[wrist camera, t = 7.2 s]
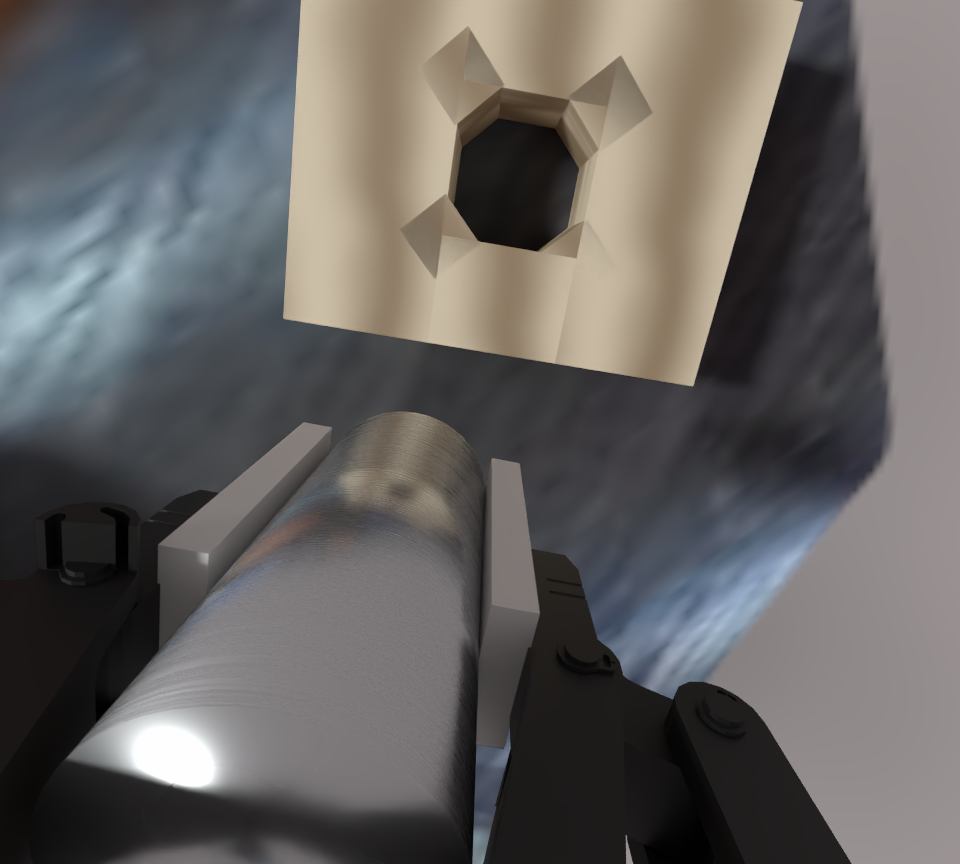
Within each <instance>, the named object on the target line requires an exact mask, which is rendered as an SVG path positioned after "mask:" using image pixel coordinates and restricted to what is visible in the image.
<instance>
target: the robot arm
mask: <svg viewBox="0 0 960 864" xmlns="http://www.w3.org/2000/svg"><path fill="white" fill-rule="evenodd" d="M331 432H332V428H331V427H326V426H321V425H315V424H310V423H305V422H304V423H302V424H301V425H300V426H299V427H298V428H296V429H295V430H294V431H293V432H292V433H290V434H289V435H288V436H287V437H286V438H284V439H283V440H282V441H281V442H280V443H279V444H277V445H276V446H275V447H274V448H273V449H271V450H270V451H269V452H268V453H267V454H265V455H264V456H263V457H262V458H261V459H260V460H258V461H257V462H256V463H255V464H254V465H252V466H251V467H250V468H249V469H248V470H246V471H245V472H244V473H243V474H242V475H240V476H239V477H238V478H237V479H236V480H235V481H233V482H232V483H231V484H230V485H229V486H227V487H226V488H225V489H224V490H223V491H221V492H220V493H216V492H210V491H205V490H198V491H195V492H192V493H190V494H187V495H184V496H181V497H178V498H176V499H175V500H174V501H172V502H171V503H170V504H168V505H167V506H166V507H164V508H163V509H162V510H161V512H158V513H156V514H155V515H154V516H152V517H151V518H149V519H148V522H144V523H143V524H141V525H140V517H139V515H138V514H137V512H136V511H134V510H132V509H130V508H128V507H126V506H123V505H117V504H112V503H82V504H76V505H69V506H65V507H61V508H58V509H55V510H52V511H48V512H47V513H45V514H43V515H41V516H40V517H38V518H36V519H35V536H36V553H37V570H36V571H35V572H34V573H33V574H32V575H31V576H30V577H29V578H28V579H26V580H0V864H32V858H31V853H30V827H31V822H32V817H33V812H34V808H35V805H36V803H37V801H38V798H39V796H40V793H41V791H42V789H43V787H44V786H45V784H46V783H47V781H48V780H49V778H50V777H51V775H52V774H53V772H54V771H55V770H56V768H57V767H58V766H59V765H60V764H61V763H62V761H63V760H64V759H65V758H66V757H67V756H68V754H69V753H70V752H71V751H72V750H73V749H74V748H75V746H76V745H77V744H78V743H79V742H80V741H81V739H82V738H83V737H84V736H85V735H86V734H87V733H88V731H89V730H90V729H91V728H92V727H93V726H94V724H95V723H96V722H97V721H98V720H99V719H100V717H101V716H102V715H103V714H104V713H105V712H106V711H107V709H108V708H109V707H110V706H111V705H112V704H113V702H114V701H115V700H116V699H117V698H118V697H119V696H120V694H121V693H122V692H123V691H124V690H125V689H126V687H127V686H128V685H129V684H130V683H131V682H132V680H133V679H134V678H135V677H136V676H137V675H138V674H139V672H140V671H141V670H142V669H143V668H144V667H145V665H146V664H147V663H148V662H149V661H150V660H151V658H152V657H153V656H154V655H155V654H156V653H157V652H158V650H159V649H160V648H161V647H162V646H163V645H164V643H165V642H166V641H167V640H168V639H169V638H170V637H171V635H172V634H173V633H174V632H175V631H176V630H177V628H178V627H179V626H180V625H181V624H182V623H183V621H184V620H185V619H186V618H187V617H188V616H189V615H190V613H191V612H192V611H193V610H194V609H195V608H196V606H197V605H198V604H199V603H200V602H201V601H202V599H203V598H204V597H205V596H206V595H207V594H208V593H209V591H210V590H211V589H212V588H213V587H214V586H215V584H216V583H217V582H218V581H219V580H220V579H221V578H222V576H223V575H224V574H225V573H226V572H227V571H228V569H229V568H230V567H231V566H232V565H233V564H234V562H235V561H236V560H237V559H238V558H239V557H240V556H241V554H242V553H243V552H244V551H245V550H246V549H247V547H248V546H249V545H250V544H251V543H252V542H253V541H254V539H255V538H256V537H257V536H258V535H259V534H260V532H261V531H262V530H263V529H264V528H265V527H266V525H267V524H268V523H269V522H270V521H271V520H272V519H273V517H274V516H275V515H276V514H277V513H278V512H279V510H280V509H281V508H282V507H283V506H284V505H285V503H286V502H287V501H288V500H289V499H290V498H291V497H292V495H293V494H294V493H295V492H296V491H297V490H298V488H299V487H300V486H301V485H302V484H303V483H304V482H305V480H306V479H307V478H308V477H309V476H310V475H311V473H312V472H313V471H314V470H315V469H316V468H317V466H318V465H319V464H320V463H321V462H322V461H323V460H324V458H325V457H326V456H327V455H328V454H329V450H330V441H331ZM509 728H510V742H511V750H510V753H509V757H508V761H507V764H506V768H505V772H504V775H503V779H502V783H501V786H500V790H499V794H498V797H497V801H496V805H495V806H496V811H495V815H494V820H493V824H492V828H491V833H490V837H489V841H488V846H487V850H486V855H485V859H484V863H483V864H626V837H625V836H626V835H627V840H628V845H629V849H630V853H631V857H632V861H633V864H851V862H850V860H849V859H848V857H847V856H846V854H845V852H844V851H843V849H842V847H841V846H840V844H839V843H838V841H837V839H836V838H835V836H834V835H833V833H832V831H831V830H830V828H829V826H828V825H827V823H826V821H825V820H824V818H823V817H822V815H821V813H820V812H819V810H818V808H817V807H816V805H815V804H814V802H813V801H812V799H811V797H810V795H809V794H808V792H807V791H806V789H805V787H804V786H803V784H802V783H801V781H800V779H799V778H798V776H797V774H796V773H795V771H794V769H793V768H792V767H791V765H790V763H789V761H788V760H787V758H786V756H785V755H784V753H783V752H782V750H781V748H780V747H779V745H778V743H777V742H776V740H775V739H774V737H773V735H772V734H771V732H770V730H769V729H768V727H767V726H766V724H765V723H764V722H763V720H762V719H761V718H760V716H759V715H758V714H757V713H756V712H755V710H754V709H753V708H752V707H750V706H749V705H748V704H747V703H745V702H744V701H743V700H742V699H740V698H739V697H738V696H736V695H734V694H733V693H731V692H729V691H727V690H725V689H723V688H721V687H718V686H715V685H712V684H708V683H705V682H688V683H686V684H683V685H681V686H679V687H678V690H677V692H676V694H675V696H674V699H673V700H672V699H670V698H668V697H665V696H663V695H660V694H658V693H656V692H653V691H651V690H648V689H646V688H643V687H641V686H639V685H637V684H635V683H633V682H631V681H630V680H628V679H627V678H625V677H624V676H623V672H622V669H621V665H620V662H619V660H618V659H617V657H616V656H615V655H614V654H613V652H612V651H611V650H610V649H609V648H608V647H606V646H605V645H604V644H602V643H601V642H600V641H598V640H597V636H596V633H595V629H594V626H593V622H592V619H591V615H590V611H589V608H588V604H587V601H586V600H585V593H584V590H583V588H582V583H581V579H580V576H579V572H578V569H577V568H576V567H575V566H574V565H573V564H572V563H571V561H570V560H569V559H568V558H567V557H566V556H565V555H561V554H555V553H550V552H544V551H539V550H533V549H531V544H530V537H529V530H528V522H527V515H526V508H525V500H524V493H523V486H522V478H521V471H520V464H519V463H515V462H510V461H504V460H499V459H494V458H492V460H491V465H490V469H489V474H488V479H487V483H486V488H485V493H484V522H483V551H482V580H481V610H480V639H479V677H478V707H477V737H476V744H477V745H483V746H489V747H494V748H500V749H504V746H505V743H506V739H507V735H508V731H509Z"/></svg>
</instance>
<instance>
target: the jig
mask: <svg viewBox="0 0 960 864" xmlns="http://www.w3.org/2000/svg"><path fill="white" fill-rule="evenodd" d="M802 4H803V2H799V1H794V0H301V13H300V31H299V48H298V66H297V84H296V102H295V119H294V137H293V155H292V173H291V190H290V208H289V226H288V244H287V262H286V279H285V297H284V315H283V319H288V320H294V321H300V322H306V323H313V324H319V325H325V326H331V327H337V328H343V329H349V330H355V331H361V332H367V333H373V334H379V335H385V336H391V337H397V338H403V339H409V340H415V341H422V342H428V343H434V344H440V345H446V346H452V347H458V348H464V349H470V350H476V351H482V352H488V353H494V354H500V355H506V356H512V357H518V358H525V359H531V360H537V361H543V362H549V363H555V364H561V365H567V366H573V367H579V368H585V369H591V370H597V371H603V372H609V373H615V374H621V375H627V376H634V377H640V378H646V379H652V380H658V381H664V382H670V383H676V384H682V385H688V386H693V385H694V382H695V378H696V375H697V371H698V368H699V364H700V361H701V357H702V354H703V350H704V347H705V343H706V340H707V336H708V333H709V329H710V326H711V322H712V319H713V315H714V312H715V308H716V305H717V301H718V298H719V294H720V291H721V287H722V284H723V280H724V277H725V273H726V270H727V266H728V263H729V259H730V256H731V252H732V249H733V245H734V242H735V238H736V235H737V231H738V228H739V224H740V221H741V217H742V214H743V210H744V207H745V203H746V200H747V197H748V193H749V190H750V186H751V183H752V179H753V176H754V172H755V169H756V165H757V162H758V158H759V155H760V151H761V148H762V144H763V141H764V137H765V134H766V130H767V127H768V123H769V120H770V116H771V113H772V109H773V106H774V102H775V99H776V95H777V92H778V88H779V85H780V81H781V78H782V74H783V71H784V67H785V64H786V60H787V57H788V53H789V50H790V46H791V43H792V39H793V36H794V32H795V29H796V25H797V22H798V18H799V15H800V11H801V8H802ZM498 118H500V119H505V120H511V121H516V122H522V123H527V124H533V125H538V126H543V127H549V128H554V129H555V130H556V131H557V133H558V135H559V136H560V138H561V140H562V141H563V143H564V145H565V146H566V148H567V149H568V151H569V153H570V154H571V156H572V158H573V159H574V161H575V163H576V164H577V166H578V168H579V173H578V178H577V183H576V188H575V193H574V198H573V203H572V209H571V214H570V219H569V224H568V228H567V229H566V230H564V231H563V232H562V233H560V234H559V235H558V236H556V237H555V238H554V239H552V240H551V241H549V242H548V243H547V244H545V245H544V246H543V247H541V248H540V249H539V250H537V251H530V250H525V249H519V248H513V247H507V246H502V245H496V244H490V243H484V242H479V241H477V239H476V238H475V236H474V235H473V233H472V232H471V230H470V229H469V227H468V226H467V224H466V223H465V221H464V220H463V218H462V217H461V215H460V214H459V213H458V211H457V210H456V208H455V207H454V200H455V193H456V186H457V179H458V171H459V164H460V157H461V150H462V147H463V146H465V145H466V144H467V143H468V142H470V141H471V140H472V139H473V138H475V137H476V136H477V135H478V134H480V133H481V132H482V131H483V130H484V129H486V128H487V127H488V126H489V125H491V124H492V123H493V122H494V121H496V120H497V119H498Z"/></svg>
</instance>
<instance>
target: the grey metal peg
mask: <svg viewBox="0 0 960 864" xmlns="http://www.w3.org/2000/svg"><path fill="white" fill-rule="evenodd" d="M484 493H485V483H484V477H483V472H482V469H481V465H480V463H479V460H478V458H477V456H476V454H475V453H474V451H473V449H472V448H471V446H470V445H469V444H468V443H467V441H466V440H465V439H464V438H463V437H462V436H461V435H460V434H459V433H458V432H457V431H455V430H454V429H452V428H451V427H450V426H448V425H447V424H445V423H443V422H441V421H439V420H437V419H435V418H432V417H430V416H426V415H423V414H419V413H412V412H391V413H384V414H381V415H377V416H374V417H371V418H369V419H367V420H364V421H363V422H361V423H359V424H358V425H356V426H355V427H353V428H352V429H351V430H350V431H348V432H347V433H346V435H345V436H344V437H343V438H342V439H341V440H340V441H339V442H338V443H337V445H336V446H335V447H334V448H333V449H332V450H331V451H330V453H329V454H328V455H327V456H326V457H325V458H324V460H323V461H322V462H321V463H320V464H319V465H318V466H317V468H316V469H315V470H314V471H313V472H312V473H311V475H310V476H309V477H308V478H307V479H306V480H305V482H304V483H303V484H302V485H301V486H300V487H299V488H298V490H297V491H296V492H295V493H294V494H293V495H292V497H291V498H290V499H289V500H288V501H287V502H286V503H285V505H284V506H283V507H282V508H281V509H280V510H279V512H278V513H277V514H276V515H275V516H274V517H273V519H272V520H271V521H270V522H269V523H268V524H267V525H266V527H265V528H264V529H263V530H262V531H261V532H260V534H259V535H258V536H257V537H256V538H255V539H254V541H253V542H252V543H251V544H250V545H249V546H248V547H247V549H246V550H245V551H244V552H243V553H242V554H241V556H240V557H239V558H238V559H237V560H236V561H235V562H234V564H233V565H232V566H231V567H230V568H229V569H228V571H227V572H226V573H225V574H224V575H223V576H222V578H221V579H220V580H219V581H218V582H217V583H216V584H215V586H214V587H213V588H212V589H211V590H210V591H209V593H208V594H207V595H206V596H205V597H204V598H203V599H202V601H201V602H200V603H199V604H198V605H197V606H196V608H195V609H194V610H193V611H192V612H191V613H190V615H189V616H188V617H187V618H186V619H185V620H184V621H183V623H182V624H181V625H180V626H179V627H178V628H177V630H176V631H175V632H174V633H173V634H172V635H171V637H170V638H169V639H168V640H167V641H166V642H165V643H164V645H163V646H162V647H161V648H160V649H159V650H158V652H157V653H156V654H155V655H154V656H153V657H152V658H151V660H150V661H149V662H148V663H147V664H146V665H145V667H144V668H143V669H142V670H141V671H140V672H139V674H138V675H137V676H136V677H135V678H134V679H133V680H132V682H131V683H130V684H129V685H128V686H127V687H126V689H125V690H124V691H123V692H122V693H121V694H120V696H119V697H118V698H117V699H116V700H115V701H114V702H113V704H112V705H111V706H110V707H109V708H108V709H107V711H106V712H105V713H104V714H103V715H102V716H101V717H100V719H99V720H98V721H97V722H96V723H95V724H94V726H93V727H92V728H91V729H90V730H89V731H88V733H87V734H86V735H85V736H84V737H83V738H82V739H81V741H80V742H79V743H78V744H77V745H76V746H75V748H74V749H73V750H72V751H71V752H70V753H69V754H68V756H67V757H66V758H65V759H64V760H63V761H62V763H61V764H60V765H59V766H58V767H57V768H56V770H55V771H54V772H53V774H52V775H51V777H50V778H49V780H48V781H47V783H46V784H45V786H44V787H43V789H42V791H41V793H40V796H39V798H38V801H37V803H36V805H35V808H34V812H33V817H32V822H31V827H30V853H31V858H32V864H472V856H473V826H474V796H475V766H476V737H477V707H478V677H479V639H480V610H481V580H482V551H483V522H484Z"/></svg>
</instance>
